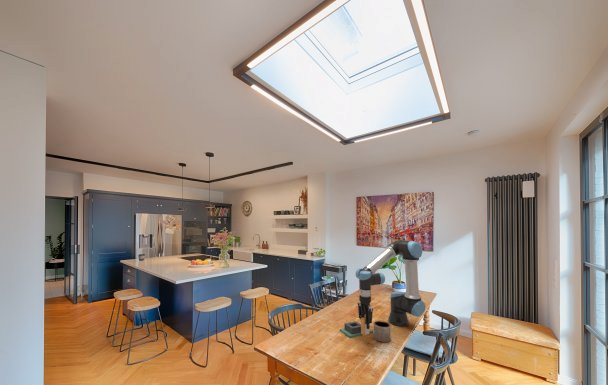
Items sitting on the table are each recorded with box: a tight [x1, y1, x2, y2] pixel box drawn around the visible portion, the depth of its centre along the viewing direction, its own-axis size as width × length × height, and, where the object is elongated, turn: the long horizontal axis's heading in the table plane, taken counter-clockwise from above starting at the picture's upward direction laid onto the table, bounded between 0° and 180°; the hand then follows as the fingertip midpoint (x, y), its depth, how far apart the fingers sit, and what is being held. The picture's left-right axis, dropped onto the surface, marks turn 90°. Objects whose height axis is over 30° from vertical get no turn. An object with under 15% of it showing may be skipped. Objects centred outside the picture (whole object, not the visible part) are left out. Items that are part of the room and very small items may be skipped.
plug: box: [360, 317, 371, 336], centre depth 168 cm, size 4×3×10 cm, turn 116°
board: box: [339, 320, 374, 339], centre depth 181 cm, size 20×12×5 cm, turn 116°
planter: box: [373, 320, 391, 343], centre depth 172 cm, size 11×11×10 cm
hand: (365, 332), depth 167 cm, fingers closed on plug, 3 cm apart
